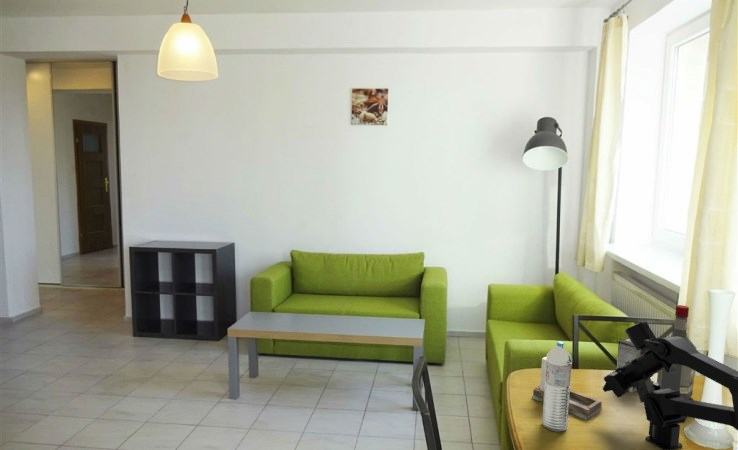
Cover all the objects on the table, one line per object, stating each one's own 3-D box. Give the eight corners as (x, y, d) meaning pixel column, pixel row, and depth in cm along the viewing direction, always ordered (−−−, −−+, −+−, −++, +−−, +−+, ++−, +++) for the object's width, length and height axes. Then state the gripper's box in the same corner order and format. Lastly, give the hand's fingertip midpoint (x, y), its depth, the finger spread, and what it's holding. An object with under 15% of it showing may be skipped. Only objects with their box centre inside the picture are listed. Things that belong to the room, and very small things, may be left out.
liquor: (653, 394, 169) (662, 306, 165) (663, 386, 175) (671, 301, 172) (684, 404, 162) (694, 312, 159) (693, 396, 169) (703, 307, 165)
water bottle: (547, 418, 152) (552, 336, 149) (570, 426, 147) (576, 342, 144) (538, 427, 146) (543, 342, 143) (562, 435, 142) (568, 348, 139)
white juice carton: (566, 395, 164) (569, 356, 162) (557, 401, 160) (560, 360, 159) (549, 389, 169) (551, 350, 167) (539, 394, 165) (542, 354, 163)
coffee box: (628, 379, 180) (631, 335, 178) (646, 386, 175) (650, 341, 173) (614, 386, 175) (617, 340, 173) (632, 393, 170) (637, 346, 168)
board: (601, 409, 158) (602, 400, 157) (586, 419, 151) (587, 410, 151) (547, 389, 171) (548, 380, 171) (532, 398, 164) (532, 389, 164)
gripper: (655, 402, 133) (609, 426, 142) (678, 381, 146) (634, 404, 155) (626, 364, 138) (583, 389, 147) (650, 347, 151) (609, 372, 160)
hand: (603, 390), depth 152 cm, fingers closed
